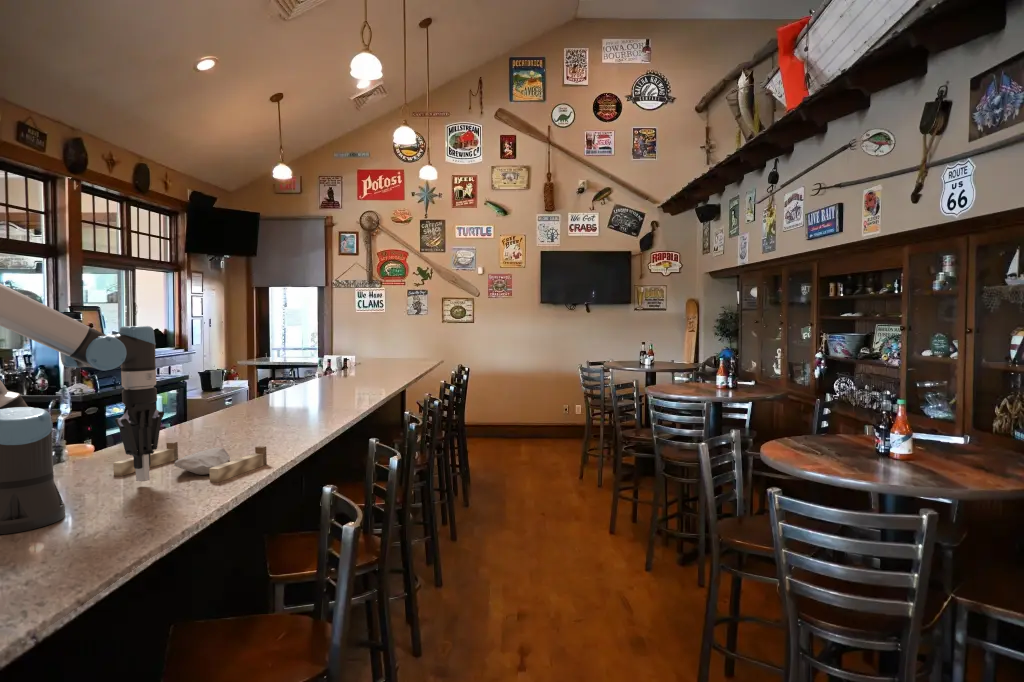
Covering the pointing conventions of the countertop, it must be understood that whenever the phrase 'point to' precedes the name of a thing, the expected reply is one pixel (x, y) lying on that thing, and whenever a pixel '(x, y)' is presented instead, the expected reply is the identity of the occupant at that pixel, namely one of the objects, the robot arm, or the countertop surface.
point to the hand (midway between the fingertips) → (142, 480)
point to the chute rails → (216, 472)
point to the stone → (203, 460)
